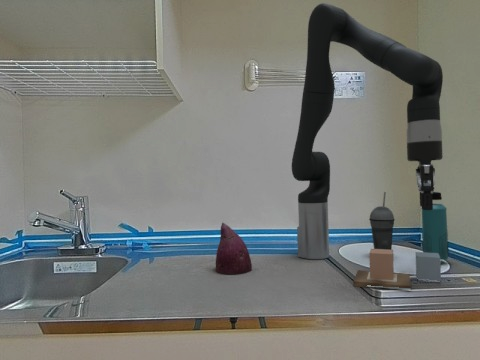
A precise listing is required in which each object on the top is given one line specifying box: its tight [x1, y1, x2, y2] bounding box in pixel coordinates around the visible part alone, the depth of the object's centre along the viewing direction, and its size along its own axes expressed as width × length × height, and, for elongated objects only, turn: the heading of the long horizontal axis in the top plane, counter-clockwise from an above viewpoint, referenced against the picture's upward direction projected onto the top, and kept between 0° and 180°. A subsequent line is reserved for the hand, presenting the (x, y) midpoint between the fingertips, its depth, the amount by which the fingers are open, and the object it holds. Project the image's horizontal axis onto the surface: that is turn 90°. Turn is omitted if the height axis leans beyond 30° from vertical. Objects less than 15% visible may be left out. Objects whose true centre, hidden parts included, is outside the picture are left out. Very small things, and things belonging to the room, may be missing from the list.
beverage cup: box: [368, 191, 396, 250], centre depth 110 cm, size 7×7×20 cm
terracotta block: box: [368, 248, 395, 280], centre depth 85 cm, size 5×5×6 cm
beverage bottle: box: [421, 191, 450, 261], centre depth 101 cm, size 6×7×20 cm
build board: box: [352, 269, 412, 289], centre depth 85 cm, size 12×10×1 cm
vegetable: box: [215, 221, 253, 275], centre depth 100 cm, size 10×10×15 cm
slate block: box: [415, 251, 442, 282], centre depth 86 cm, size 5×5×6 cm
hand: (426, 208), depth 86 cm, fingers open, 8 cm apart
